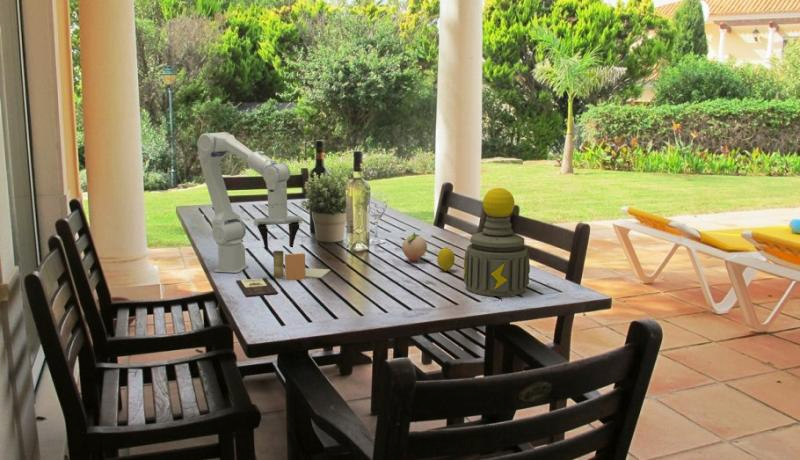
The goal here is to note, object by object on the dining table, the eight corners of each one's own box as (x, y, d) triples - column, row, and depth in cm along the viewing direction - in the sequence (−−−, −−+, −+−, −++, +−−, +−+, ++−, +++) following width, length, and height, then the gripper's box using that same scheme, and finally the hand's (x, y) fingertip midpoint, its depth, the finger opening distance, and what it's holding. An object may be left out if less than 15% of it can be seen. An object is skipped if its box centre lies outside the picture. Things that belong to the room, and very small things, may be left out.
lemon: (445, 268, 242) (445, 244, 240) (457, 271, 238) (458, 247, 236) (433, 271, 238) (433, 246, 236) (446, 274, 234) (446, 249, 233)
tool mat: (303, 269, 239) (303, 268, 239) (330, 270, 237) (330, 269, 237) (293, 276, 229) (293, 275, 229) (321, 278, 228) (321, 276, 228)
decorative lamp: (462, 280, 226) (464, 183, 221) (523, 281, 226) (527, 184, 220) (465, 297, 208) (468, 191, 202) (532, 298, 207) (537, 192, 202)
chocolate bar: (246, 295, 206) (236, 280, 222) (246, 298, 206) (236, 283, 222) (278, 292, 209) (265, 277, 225) (278, 295, 209) (265, 280, 226)
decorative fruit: (424, 265, 246) (424, 235, 244) (400, 263, 248) (400, 234, 246) (428, 259, 255) (429, 230, 253) (405, 257, 257) (405, 229, 255)
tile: (285, 279, 226) (284, 254, 224) (304, 278, 228) (304, 252, 226) (286, 280, 224) (285, 254, 223) (305, 279, 226) (305, 253, 225)
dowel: (275, 275, 231) (275, 250, 229) (285, 275, 230) (284, 250, 229) (272, 277, 228) (271, 252, 226) (281, 278, 227) (281, 252, 226)
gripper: (255, 206, 217) (257, 251, 220) (304, 204, 222) (305, 248, 225) (251, 203, 224) (253, 247, 226) (298, 201, 229) (300, 244, 231)
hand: (278, 247), depth 226 cm, fingers open, 7 cm apart
